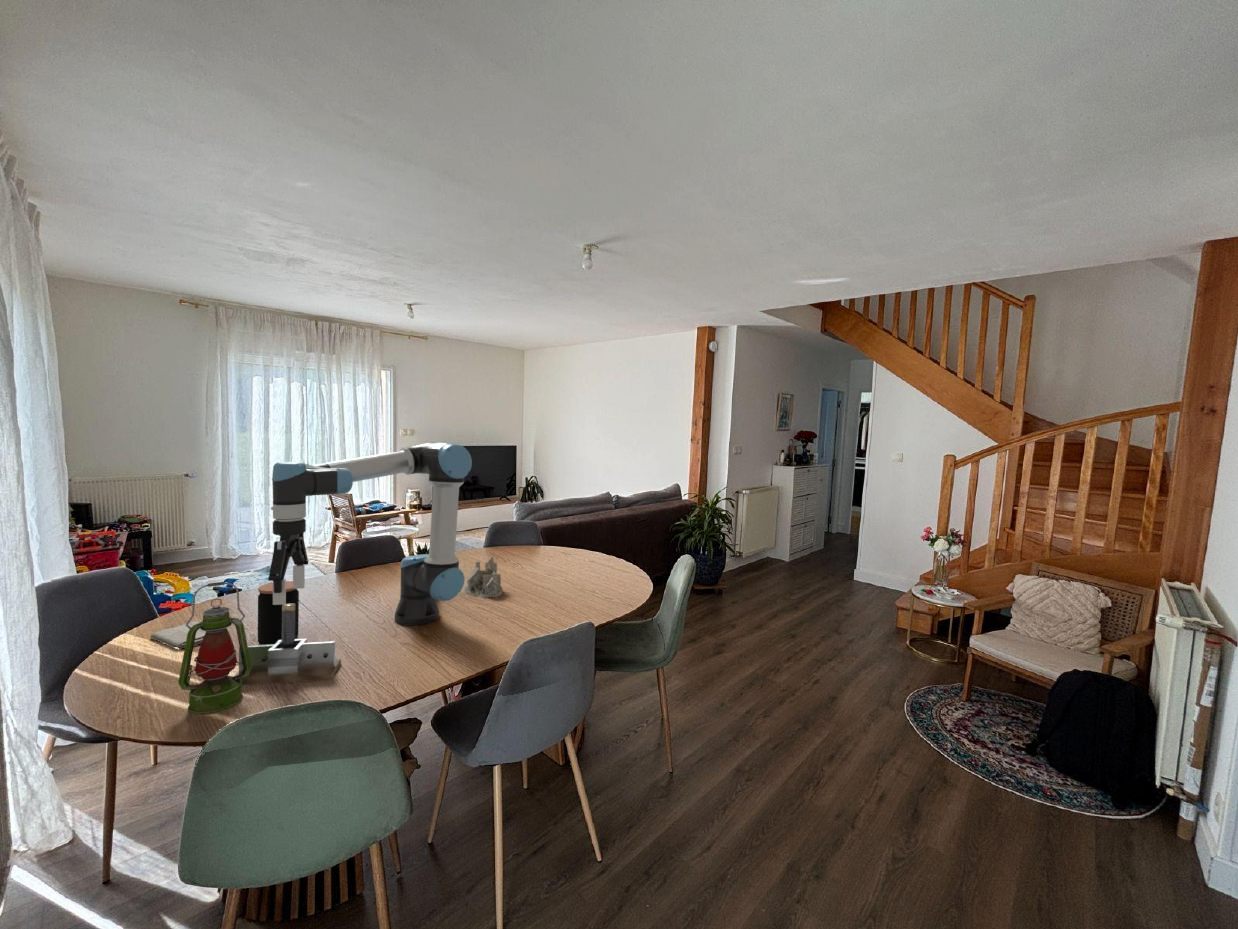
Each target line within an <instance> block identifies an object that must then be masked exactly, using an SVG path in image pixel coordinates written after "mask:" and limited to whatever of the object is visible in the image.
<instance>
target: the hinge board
mask: <svg viewBox="0 0 1238 929" xmlns="http://www.w3.org/2000/svg"><path fill="white" fill-rule="evenodd" d="M341 665H342V659H341V658H337V659H336V658H335V666H334V667H327V668H311V669H301V670H300V672H299V673H298V674H293V675H278V676H268V671H265V672H249V675H248V676H246V677H244V678H242V679H241V680H242V686H249V685H261V684H262V685H263V684H265V685H266V684H276V683H277V684H278V683H293V682H306V681H319V680H320V681H321V680H332V678H333V677H334V675H335V674H336V673H337V671H338V669H339V668H340V666H341ZM239 674H242V673H239V671H237V672H236V673H235V674H234V675H233V676H232V677H234V676H237V675H239Z"/></svg>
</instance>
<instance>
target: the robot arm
mask: <svg viewBox="0 0 1238 929" xmlns="http://www.w3.org/2000/svg"><path fill="white" fill-rule="evenodd" d="M472 465H473V461H472V456H471V454H470V452H469V451H468V450H467V448H465V447H464V446H463V445H460V444H456V443H453V442H437V441H436V442H435V441H434V442H433V441H432V442H425V443H421V444H417V445H416V444H415V445H411V446H407V447H406V446H405V447H402V448H400V450H399V451H394V452H388V453H387V452H386V453H380V454H373V455H367V456H360V457H355V458H348V459H342V460H334V461H329V462H321V463H316V464H307V463H304V462H300V461H279V462H276V463H275V464H273V466H272V467H273V468H272V476H271V477H272V478H271V481H272V506H271V507H270V510H271V511H272V518H273V519H274V520H273V521H272V534H273V535H275V536H279V540H278V541H277V540H276V541H274V542H273V552H272V558H271V564H270V570H269V573H268V579H267V580H268V581H269V582H271V581H272V582H273V605H281V604H286V581H287V579H286V578H285V575H286V572H287V568H288V565H289V562H290V558H291V559H292V561H293V563H294V565H292V581H293V589H297V590H299V589H305V585H306V583H305V579H306V578H305V574H306V573H305V571H306V570H305V569H306V567H305V566H306V565H308V564H309V560H308V554H307V549H306V544H305V540H304V539H305V538H304V533H305V532H306V531H307V530H306V529H307V524H306V523H307V520H306V519H305V518H306V516H307V507H306V506H307V501H306V499H307V497H312V496H326V495H329V496H330V495H337V496H338V495H340V494H348V493H349V492H350V491H351V490H352V488H353V484H354V483H355V482H361V481H365V480H372V479H378V478H382V477H388V476H393V475H398V474H405V475H407V476H408V475H414V474H423V475H425V474H426V475H428V482H429V483H430V484H431V485H432V501H431V518H430V530H429V531H430V533H429V534H430V535H429V548H428V549H429V550H428V553H427V554H426V553H425V554H424V553H423V554H415V555H410V556H406V557H403V558H402V560H401V563H400V594H399V596H400V598H399V601H398V604H397V607H396V609H395V611H394V622H395V623H397V624H399V625H405V626H418V625H419V626H420V625H425V624H429V623H431V622H434V621H436V620H437V619H439V617H440V608H439V606H438V603H437V600H438V601H443V602H447V601H450V600H452V599H454V598H456V597H458V595H459V593H460V592H461V591H462V590H463V588H464V584H465V580H466V578H465V574H464V572H463V571H462V570H461V569H459V568H460V559H459V558H458V557H457V556H456V545H457V530H458V529H457V527H458V515H459V514H458V513H459V512H458V510H459V494H460V487H461V486H462V485H463V484H464V483H465V477H467V475H468V474H469V473H471V469H472V467H473V466H472Z"/></svg>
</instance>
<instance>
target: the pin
mask: <svg viewBox="0 0 1238 929" xmlns="http://www.w3.org/2000/svg"><path fill="white" fill-rule="evenodd" d="M282 648H295V604H294V603H288V604H284V605H282Z"/></svg>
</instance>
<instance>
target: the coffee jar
mask: <svg viewBox="0 0 1238 929" xmlns="http://www.w3.org/2000/svg"><path fill="white" fill-rule="evenodd" d="M257 591H258V592H259V594H258V595H257V643H258V645H272V644H275V643H276V642H277V641H278V640H282V605H284V604H281V605H273V581H272V582H268V583H265V584H262V585H260V586H258V588H257ZM288 603H294V604H295V639H298V636H299V618H300V616H299V614H300V612H299V611H300V608H299V604H300V591H299V589H293V580H292V581H291V580H290V581H289V580H286V604H288Z"/></svg>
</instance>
